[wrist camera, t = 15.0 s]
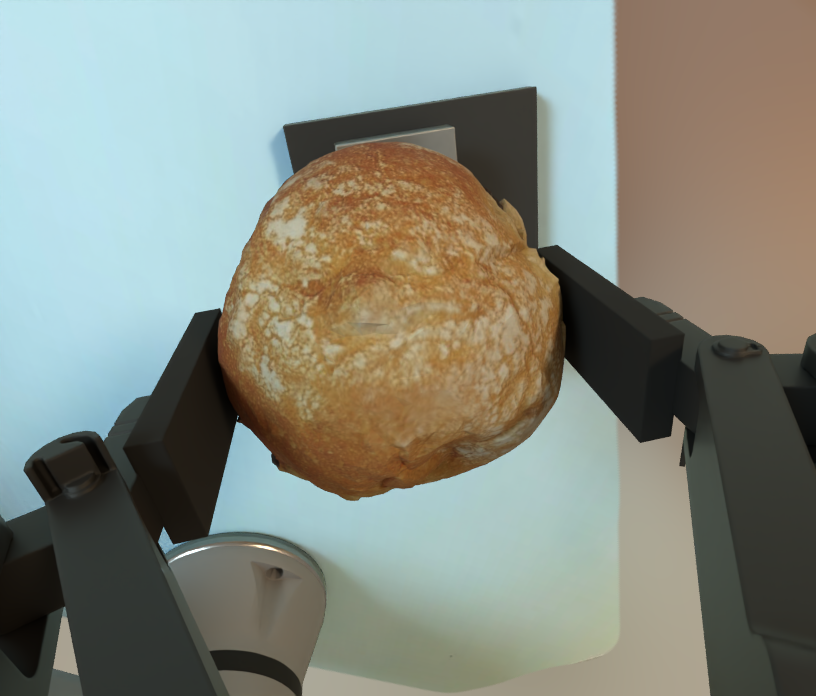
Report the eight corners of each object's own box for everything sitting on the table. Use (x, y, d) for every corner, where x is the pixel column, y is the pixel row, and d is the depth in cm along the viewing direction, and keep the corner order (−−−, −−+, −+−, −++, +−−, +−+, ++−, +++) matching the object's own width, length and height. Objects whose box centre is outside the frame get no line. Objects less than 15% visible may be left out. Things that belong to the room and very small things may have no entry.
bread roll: (519, 282, 21) (699, 275, 14) (397, 509, 20) (522, 636, 12) (312, 122, 17) (408, -9, 10) (144, 392, 16) (108, 476, 8)
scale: (545, 343, 37) (562, 363, 35) (343, 382, 36) (344, 405, 33) (545, 83, 29) (567, 84, 26) (284, 124, 28) (280, 128, 25)
